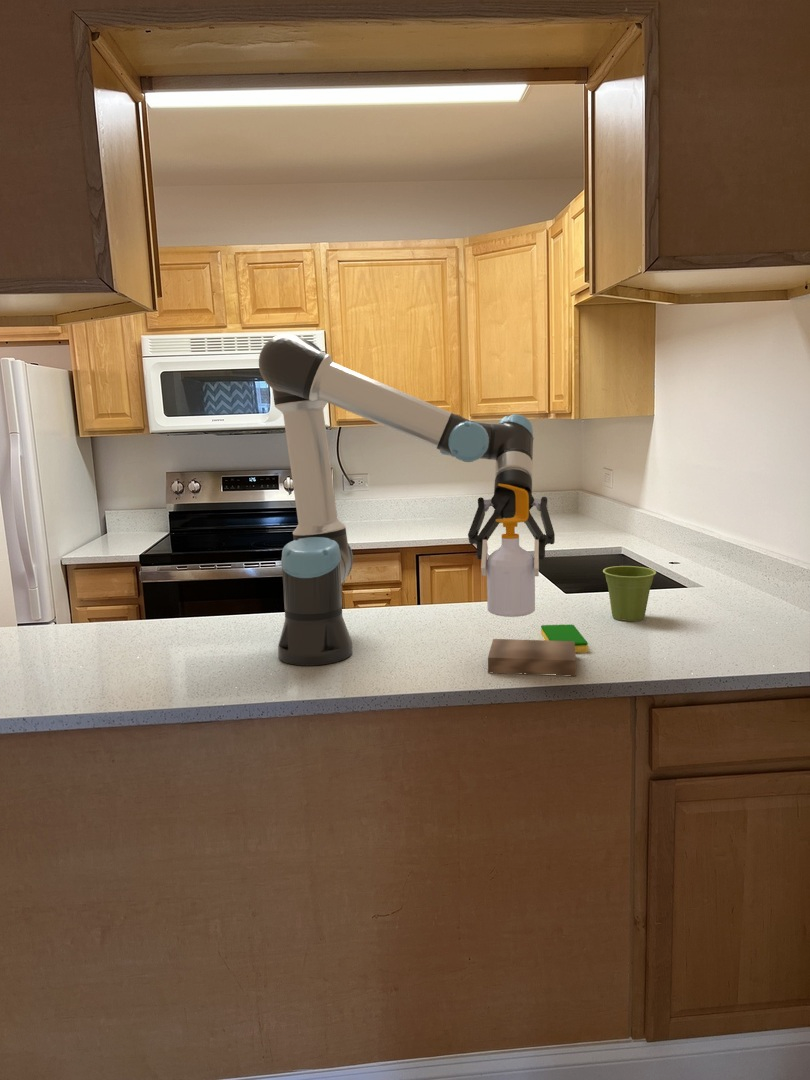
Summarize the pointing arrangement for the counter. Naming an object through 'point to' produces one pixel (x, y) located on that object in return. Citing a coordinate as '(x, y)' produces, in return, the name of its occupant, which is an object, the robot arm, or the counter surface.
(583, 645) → the dish sponge
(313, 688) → the counter surface
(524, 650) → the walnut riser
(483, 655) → the counter surface
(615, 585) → the plant pot
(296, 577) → the robot arm
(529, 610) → the soap bottle
